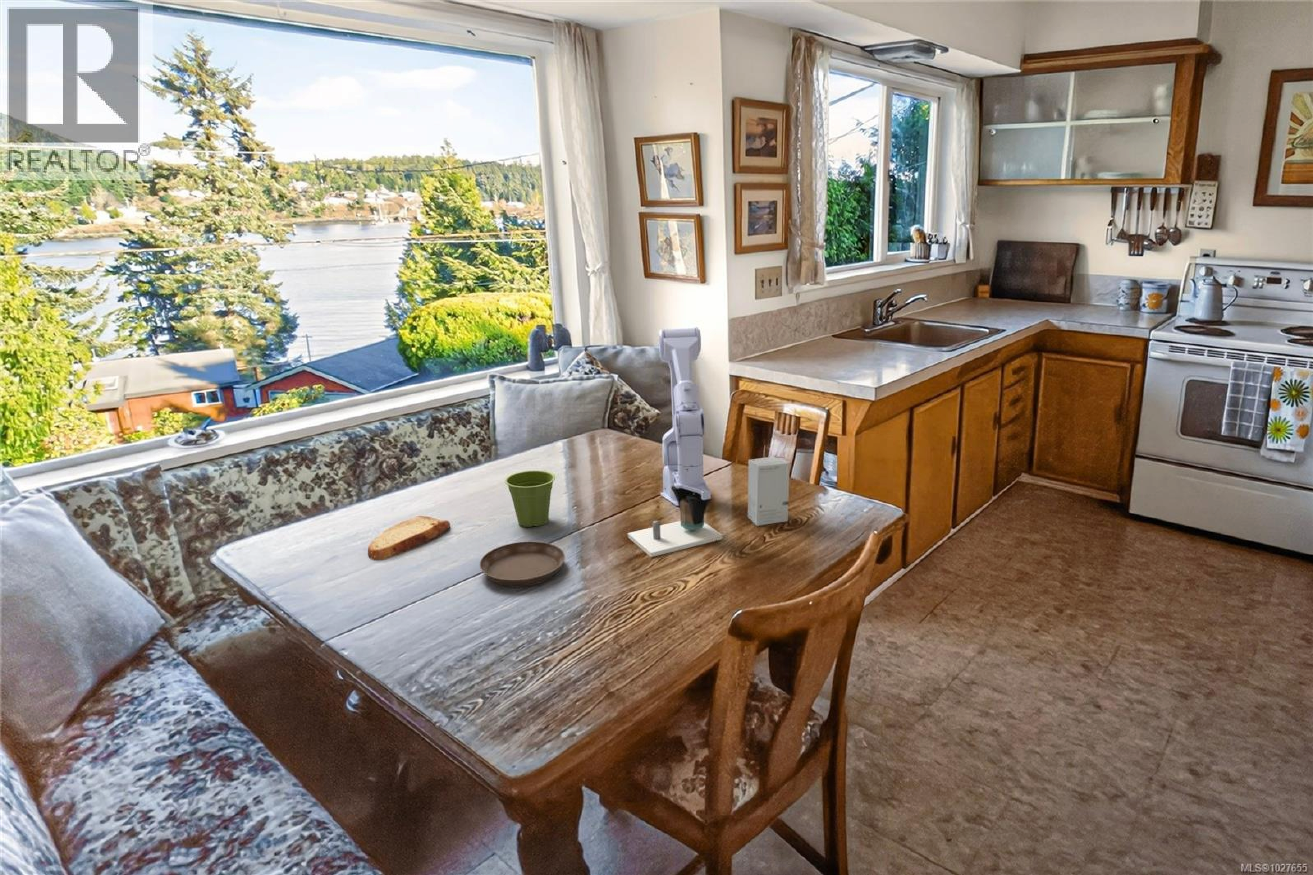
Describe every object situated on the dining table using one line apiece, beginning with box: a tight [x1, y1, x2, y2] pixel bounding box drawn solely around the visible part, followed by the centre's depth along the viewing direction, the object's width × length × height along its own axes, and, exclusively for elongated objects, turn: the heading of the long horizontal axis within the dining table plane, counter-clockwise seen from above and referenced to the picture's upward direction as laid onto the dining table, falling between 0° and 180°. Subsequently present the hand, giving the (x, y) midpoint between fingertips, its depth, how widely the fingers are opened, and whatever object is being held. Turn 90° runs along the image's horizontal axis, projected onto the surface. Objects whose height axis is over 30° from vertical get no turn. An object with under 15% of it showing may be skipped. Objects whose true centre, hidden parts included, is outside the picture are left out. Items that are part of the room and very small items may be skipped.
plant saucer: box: [479, 540, 566, 588], centre depth 164 cm, size 18×18×3 cm
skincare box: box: [747, 456, 790, 527], centre depth 183 cm, size 8×6×15 cm
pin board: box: [627, 520, 724, 558], centre depth 176 cm, size 12×18×5 cm, turn 116°
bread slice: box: [367, 515, 451, 561], centre depth 181 cm, size 18×18×4 cm
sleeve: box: [679, 498, 705, 530], centre depth 177 cm, size 5×5×6 cm
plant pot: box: [504, 469, 556, 528], centre depth 187 cm, size 12×12×11 cm
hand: (691, 519), depth 178 cm, fingers closed on sleeve, 5 cm apart
